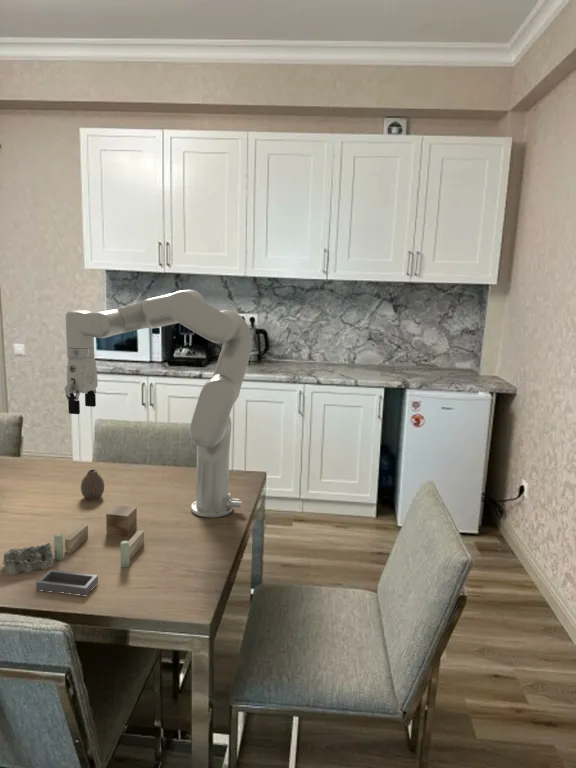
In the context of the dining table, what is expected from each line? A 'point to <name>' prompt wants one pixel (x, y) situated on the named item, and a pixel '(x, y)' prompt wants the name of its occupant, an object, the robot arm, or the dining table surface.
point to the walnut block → (121, 520)
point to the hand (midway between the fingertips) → (82, 409)
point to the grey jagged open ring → (17, 562)
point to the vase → (92, 485)
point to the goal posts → (59, 550)
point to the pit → (67, 582)
